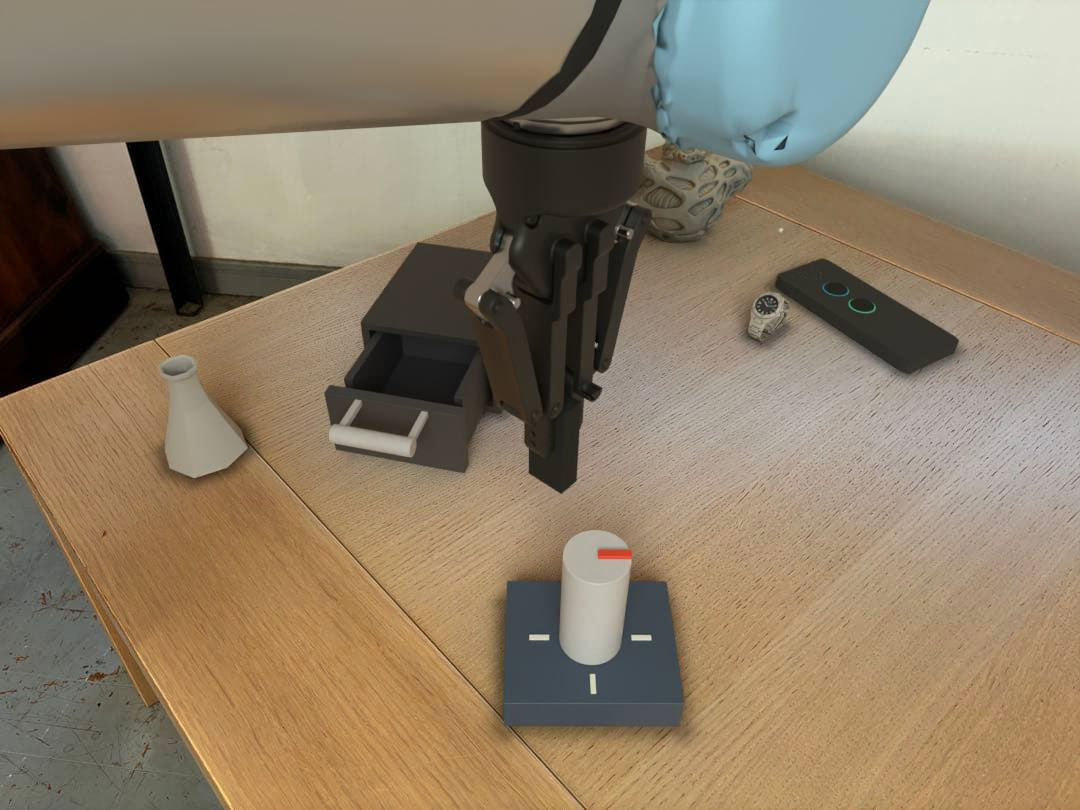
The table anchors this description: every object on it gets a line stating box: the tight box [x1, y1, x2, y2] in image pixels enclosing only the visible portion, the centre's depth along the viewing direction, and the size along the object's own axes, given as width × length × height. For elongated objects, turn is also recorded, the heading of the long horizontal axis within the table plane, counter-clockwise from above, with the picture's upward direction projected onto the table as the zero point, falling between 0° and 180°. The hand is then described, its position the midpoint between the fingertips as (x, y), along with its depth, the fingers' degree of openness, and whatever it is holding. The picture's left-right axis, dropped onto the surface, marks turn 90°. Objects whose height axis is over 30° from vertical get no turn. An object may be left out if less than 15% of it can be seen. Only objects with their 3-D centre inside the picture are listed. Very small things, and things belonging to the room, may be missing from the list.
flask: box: [157, 353, 249, 479], centre depth 74 cm, size 7×7×10 cm
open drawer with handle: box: [324, 331, 492, 474], centre depth 76 cm, size 20×12×7 cm, turn 166°
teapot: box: [629, 141, 754, 243], centre depth 104 cm, size 21×12×15 cm, turn 108°
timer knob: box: [559, 529, 633, 665], centre depth 55 cm, size 4×4×9 cm
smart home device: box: [775, 258, 960, 375], centre depth 94 cm, size 8×2×20 cm
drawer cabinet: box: [359, 241, 517, 415], centre depth 85 cm, size 16×14×9 cm
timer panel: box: [502, 580, 685, 727], centre depth 59 cm, size 12×10×3 cm
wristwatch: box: [747, 290, 791, 343], centre depth 90 cm, size 4×6×5 cm, turn 137°
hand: (552, 477), depth 52 cm, fingers closed
